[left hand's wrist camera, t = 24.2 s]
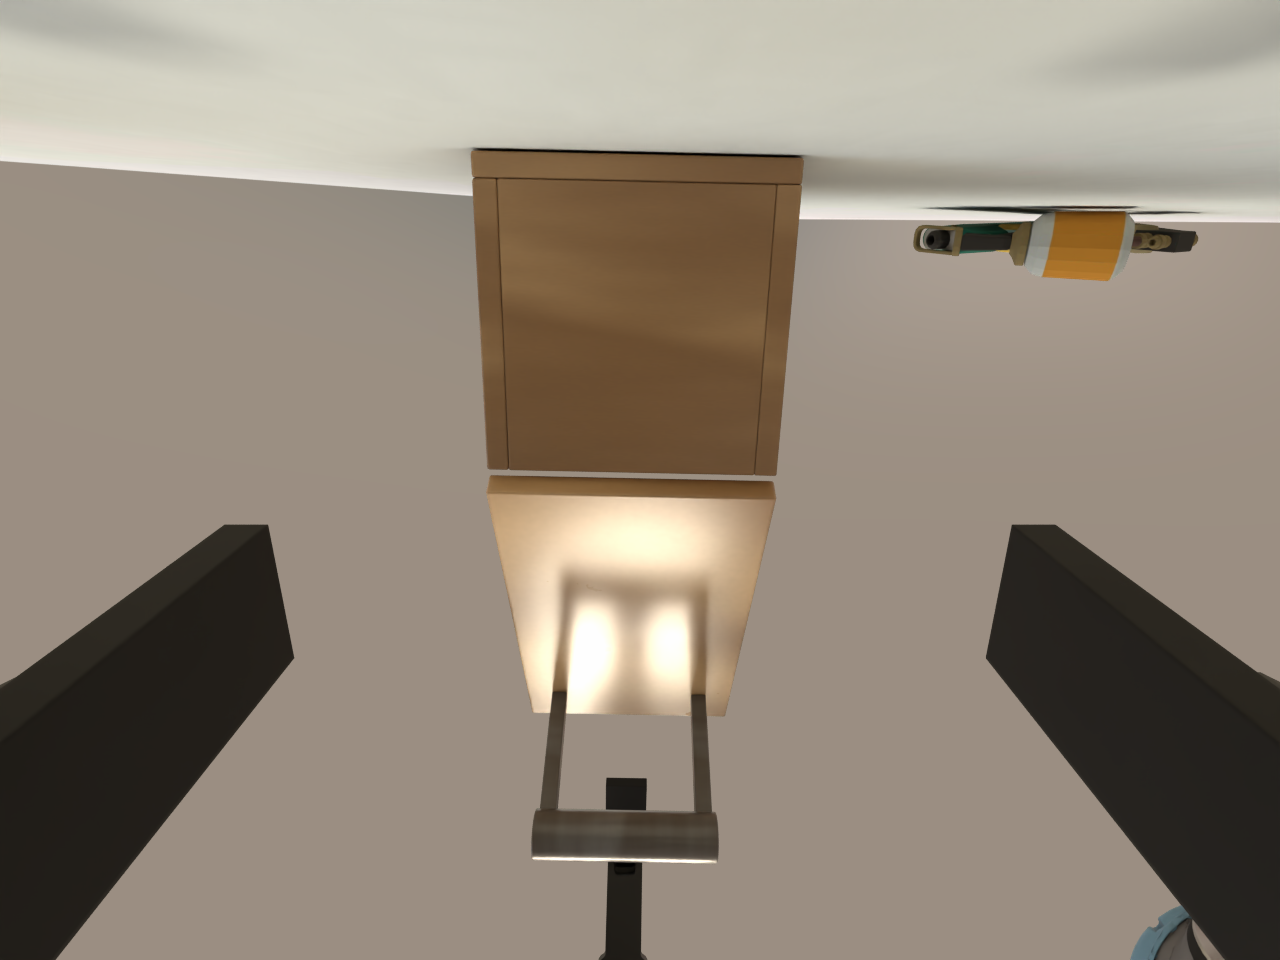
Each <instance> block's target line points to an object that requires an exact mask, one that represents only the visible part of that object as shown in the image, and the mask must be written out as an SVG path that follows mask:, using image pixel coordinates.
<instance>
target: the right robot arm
mask: <svg viewBox="0 0 1280 960" xmlns="http://www.w3.org/2000/svg"><path fill="white" fill-rule="evenodd" d="M646 792H647V779H646V778H607V779H606V810H646ZM641 905H642V863H637V862H608V882H607V917H606V951H605V953H604V954H602V955H601V956H600V958H599V960H647V958H646V956H645V955H643V954H642V953H641ZM1158 920H1159V924H1158V925H1157V926H1156V927H1154V928H1152V927H1148V928H1147V929H1146V930H1145V932H1144V933H1143V934H1142V935H1141V937H1140V938H1139V940H1138V942H1137V944H1136V945H1135V948H1134V950H1133V953H1132V956H1131V959H1130V960H1224V958H1223V957H1222V956H1221V955H1220V953H1219V952H1218V951H1217V950H1216V948H1215V947H1214V946H1213V945H1212V943H1211V942H1210V941H1209V940H1208V938H1207V937H1206V936H1205V934H1204V933H1203V932H1202V931H1201V929H1200V928H1199V927H1198V926H1197V924H1196V923H1195V922H1194V921H1193V919H1192V918H1191V917H1190V916H1189V914H1188V913H1187V912H1186V910H1185V909H1184V908H1183V907H1182V905H1181V906H1178V907H1176V908H1173V909H1171V910H1169V911H1168V912H1166V913H1165V914H1163V915H1161V916H1160V917H1159V918H1158Z"/></svg>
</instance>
